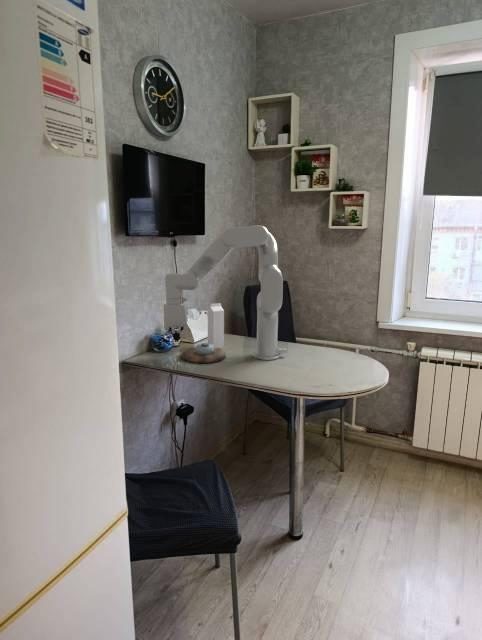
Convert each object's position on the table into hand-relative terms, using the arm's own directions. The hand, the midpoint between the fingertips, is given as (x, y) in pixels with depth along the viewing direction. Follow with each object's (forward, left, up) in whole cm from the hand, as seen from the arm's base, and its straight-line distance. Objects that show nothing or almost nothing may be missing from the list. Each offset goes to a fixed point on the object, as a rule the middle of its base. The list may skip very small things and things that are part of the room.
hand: (177, 341), depth 196 cm
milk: (-18, -17, -8) cm, 26 cm away
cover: (-13, 0, -6) cm, 14 cm away
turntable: (-12, 0, -8) cm, 14 cm away
